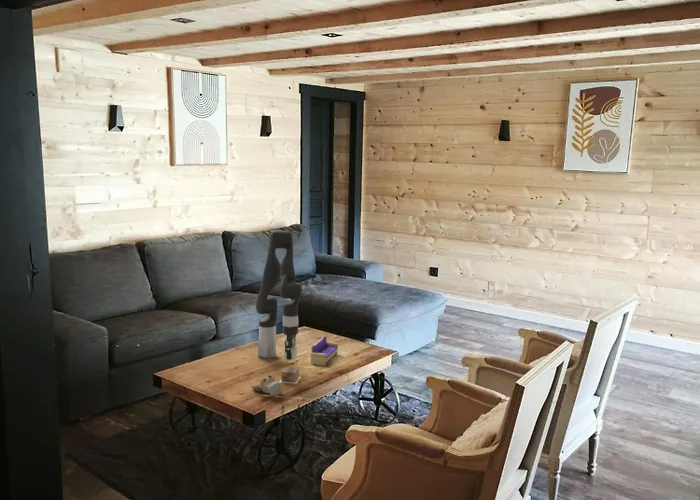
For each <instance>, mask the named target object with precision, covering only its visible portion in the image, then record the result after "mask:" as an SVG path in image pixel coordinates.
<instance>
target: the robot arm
mask: <svg viewBox="0 0 700 500" xmlns="http://www.w3.org/2000/svg"><path fill="white" fill-rule="evenodd" d="M293 241H294V240H293V235H292V232H291V231H289V230H278V229H277V230H272V231H271V233H270V236H269V241H268V249H267V250H268V251H267V256H266V261H265V266H264V269H263V275H262V280H261V285H260V288H259V291H258V295H257V298H256V301H255V311H256V313H257V314H259V315H265V316H264V317H262V318H261V319H259V322H258V339H257V357H260V358H263V359H271V358H274V357H276V355H277V320H278V319H277V318H278V300H277V298H276V297H275V296H273V295H270V296H269V294H270V293H271V292H272V290H273V289H274V288H276V286H277V285H278V284H279V283H280V287H279V295H280V297H281V298H282V299H292V300H290V301H289V302H288V301H287V302H285V303H284V304H283V307H282V312H283V313H282V334H283V335H285V336H286V337H285V341H284V350H285V352H287V360H286V361H292V360H291V352H292V348H293V347H296V345H297V344H296V342H297V340H296V339H297V334H299V303H300V299H301V296H302V291H303V290H302V289H303V288H302V285H300V283H298V282H297V283H296V282H295V283H293V282H294V281H296V271H295V266H294V242H293ZM276 249H283V250H285V251H286V253H285V255H284V257H283V258H282V260H281V261H279V259H278V257H277V254H276ZM280 280H281V281H280ZM288 348H289V350H288Z"/></svg>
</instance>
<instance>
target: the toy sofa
mask: <svg viewBox="0 0 700 500" xmlns="http://www.w3.org/2000/svg"><path fill="white" fill-rule="evenodd" d="M338 346H339V343H338V342H333V341H327V337H326V336H325V335H323V336H322V337H321V338H320V339H319V340H318V341H317V342H316V343H314V344H312V345H311V346H310V349H311V350H310V351H311V352H310V365H316V366H325V367H326V366H327V362H328V361H329V360H330V359H331V358H332V357H333V356H335V355H338V348H339V347H338Z"/></svg>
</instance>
